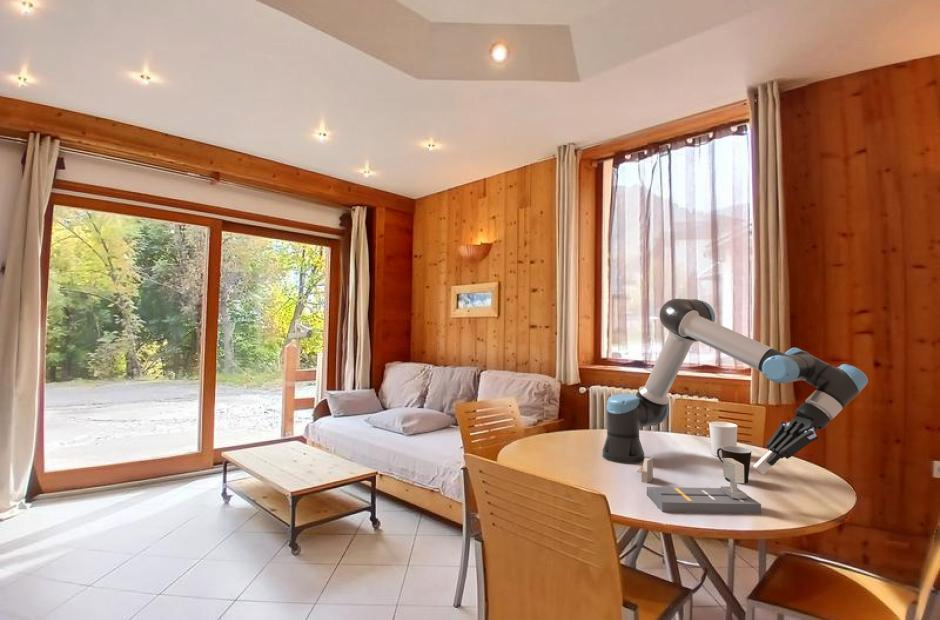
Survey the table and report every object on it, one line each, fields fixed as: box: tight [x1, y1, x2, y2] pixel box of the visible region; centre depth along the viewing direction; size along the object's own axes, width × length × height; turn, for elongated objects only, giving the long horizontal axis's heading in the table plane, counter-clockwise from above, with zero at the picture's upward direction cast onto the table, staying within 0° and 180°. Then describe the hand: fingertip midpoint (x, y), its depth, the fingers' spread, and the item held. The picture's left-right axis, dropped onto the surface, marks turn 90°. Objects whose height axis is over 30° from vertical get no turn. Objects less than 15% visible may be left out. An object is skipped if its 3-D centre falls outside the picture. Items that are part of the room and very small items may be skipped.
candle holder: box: [708, 421, 739, 459], centre depth 179 cm, size 10×10×12 cm
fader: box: [720, 458, 748, 499], centre depth 129 cm, size 4×6×9 cm, turn 178°
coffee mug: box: [716, 446, 753, 485], centre depth 151 cm, size 12×9×10 cm
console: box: [646, 486, 762, 515], centre depth 129 cm, size 26×12×3 cm, turn 88°
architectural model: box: [636, 456, 654, 484], centre depth 150 cm, size 3×7×7 cm, turn 143°
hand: (757, 470), depth 129 cm, fingers closed
